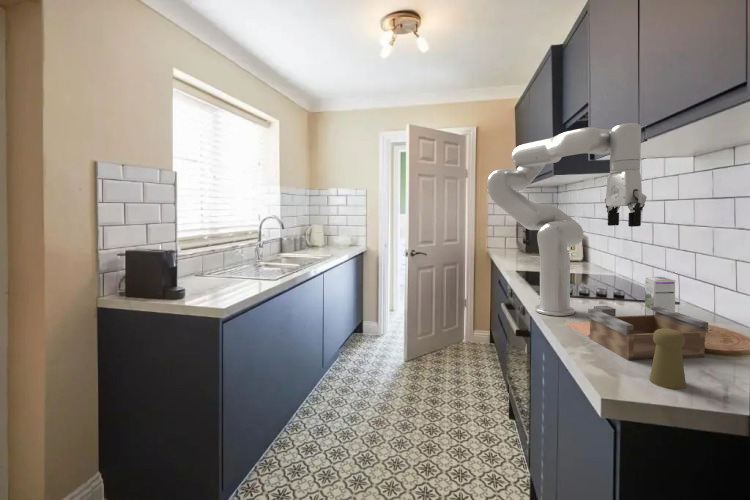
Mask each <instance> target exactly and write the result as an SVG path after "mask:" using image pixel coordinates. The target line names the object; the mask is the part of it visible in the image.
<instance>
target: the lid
mask: <svg viewBox="0 0 750 500" xmlns="http://www.w3.org/2000/svg"><path fill="white" fill-rule="evenodd" d="M593 309H596V310H598V311H601V312H603V313H605V314H608V315H610V316H612V317H613V316H616V308H614V307H611V306H609V305H595V306H593ZM564 324H565V326H568V327H569V328H571V329H573V330H574V331H577V332H579V333H581V334H582V335H585V336H586V337H588V338H590V321H585V322H584V321H581V322H580V321H579V322H578V321H577V322H565V323H564Z"/></svg>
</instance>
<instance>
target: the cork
mask: <svg viewBox="0 0 750 500" xmlns="http://www.w3.org/2000/svg"><path fill="white" fill-rule="evenodd" d="M653 340H654V342H655V344H656V348H655V354H654V359H652V365H651V370H650V375H649V381H650V383H652V384H654V385H656V386H658V387H661V388H665V389H671V390H682V389H683V390H684V389H685V388H687V381H686V374H685V368H684V358H683V357H682V349H681V348H682V347H683V346H684V344H685V336H684V335H683V334H682V333H681V332H679V331H677V330H672V329H658V330H656V331H655V332H654V334H653Z"/></svg>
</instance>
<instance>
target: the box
mask: <svg viewBox="0 0 750 500" xmlns="http://www.w3.org/2000/svg"><path fill="white" fill-rule="evenodd" d="M652 310H653V311H655V315H645V314H644V315H642V314H641V315H622V316H621V315H618V316H613V317H612V316H610V315H608V314H605V313H603V312H601V311H598V310H596V309H594V308H588V309H587V317H588V319H589V322H590V336H589V340H592V341H593V342H595V343H597V344H599V346H600V345H601V347H603V348H604V347H605V349H607V350H609V351H611V352H612V353H615V354H616V355H618V356H619V357H622V358H623V359H625V360H627V361H647V360H649V361H650V360H653V359H654V354H655V348H656V344H655V342H654V340H653V334H654V332H655V331H656V330H658V329H672V330H677V331H679V332H681V333H682V334H683V335H684V336H685V344H684V346H683V347H682V348H681V349H682V357H683V359H694V358H695V359H696V358H697V359H698V358H699V359H700V358H705V351H706V350H705V347H706V346H705V345H706V333H708V332H709V322H708V321H706V320H701V319H698V318H696V317H693V316H689V315H686V314H683V313H680V312H676V311H675V312H674V311H671V310H668V309H665V308H661V307H658V306H652Z"/></svg>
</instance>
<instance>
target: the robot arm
mask: <svg viewBox="0 0 750 500" xmlns="http://www.w3.org/2000/svg"><path fill="white" fill-rule="evenodd" d="M641 144H642V127H641V125H640V124H639V123H637V122H636V123H634V122H628V123H621V124H618V125H614V126H613V127H612V128H611V129H604V128H603V129H602V128H600V127H599V128H598V127H590V126H589V127H588V126H587V127H582V128H577V129H573V130H572V129H571V130H567V131H564V132H562V133H559V134H557V135H555V136H553V137H548V138H544V139H540V140H536V141H535V140H534V141H530V142H526V143H523V144H520V145H518V146H516V147H515V148H514V149H513V151H512V153H511V160H512V162H513V163H514V165H516V166H517V168H499V169H496V170H493V172H491V173H490V174H489V175H488V178H487V182H486V183H487V184H486V186H487V187H486V188H487V191H488V194H489V196H490V198H491V200H492V201H493V202H494V203H495V204H496V205H497V206H498V207H499V208H500V209H502V210H503V211H505V212H506V213H507V214H508V215H509V216H511V218H513V219H514V220H515V221H517V223H519V224H520V225H521V226H523V227H524V228H525V229H527V230H528V231H538V232H537V236H536V237H537V246H538V251H539V252H538V253H539V297H538V299H539V304H538V305H535V307H534V311H535V312H537V313H540V314H542V315H548V316H556V317H557V316H559V317H560V316H561V317H563V316H565V317H566V316H572V315H574V314H575V313H576V312H575V308H573V307H571V305H570V304H571V291H570V290H571V259H570V254H569V250H568V248H572V247H575V246H577V245H579V244H580V243H582V241H583V239H584V230H583V228H582V226H581V225H580V223H579V222H578V221H576V220H575V219H573V218H572V217H571V216H569V215H568V214H567V213H565V212H564V211H563V210H561V209H560V208H558V207H557V206H555V205H552V204H550V203H535V202H533V201H531V200H530V199H529V198H527V196H525V195H523V193H520V191H523V190H525V189H526V188H527V187H529V186H530V184H531V183H533V181H534V180H535V179H536V178H537V177H538V175H539V174H540V173H541V172H542V170H543V169H544V168H545V167H546V165H548V164H554V163H558V162H560V161H561V159H562V158H563V157H568V156H574V155H580V154H591V155H600V156H601V155H608V154H610V155H609V174H608V178H607V182H606V193H605V198H604V202H605V208H606V213H607V226H608V227H609V226H612V227H613V226H619V225H620V212H619V210H620V208H621V207H627V208H628V211H630V212H628V222H627V223H628V224H627V225H628V227H630V228H631V227H633V228H634V227H641V226H642V212H643V211H644V207H645V203H646V201H647V198H648V197H647V196H646V195H645V193H643V187H642V176H641V154H642V151H641V148H642V145H641Z"/></svg>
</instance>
